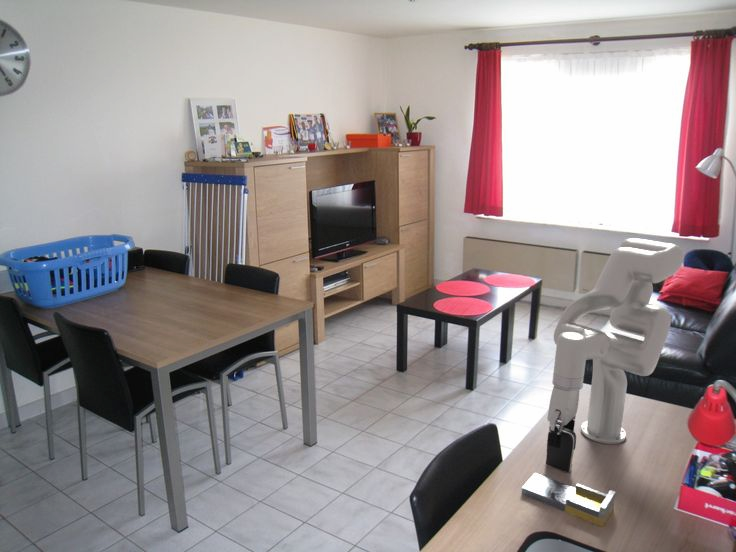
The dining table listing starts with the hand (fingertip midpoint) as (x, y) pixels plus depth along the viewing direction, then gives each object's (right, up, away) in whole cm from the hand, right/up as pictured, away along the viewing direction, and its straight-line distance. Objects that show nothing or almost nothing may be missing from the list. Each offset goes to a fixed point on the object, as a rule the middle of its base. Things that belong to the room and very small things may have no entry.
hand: (560, 439), depth 160 cm
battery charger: (+1, -8, +3) cm, 9 cm away
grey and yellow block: (-2, -12, -12) cm, 17 cm away
